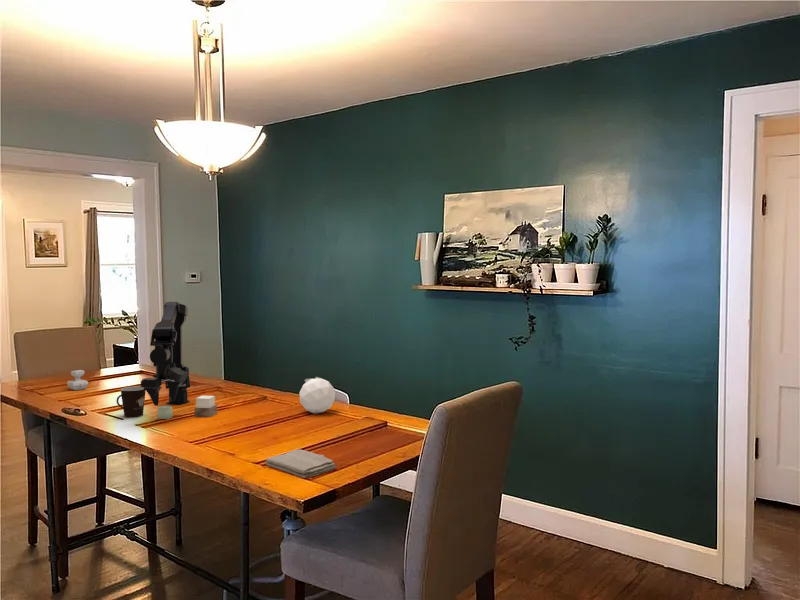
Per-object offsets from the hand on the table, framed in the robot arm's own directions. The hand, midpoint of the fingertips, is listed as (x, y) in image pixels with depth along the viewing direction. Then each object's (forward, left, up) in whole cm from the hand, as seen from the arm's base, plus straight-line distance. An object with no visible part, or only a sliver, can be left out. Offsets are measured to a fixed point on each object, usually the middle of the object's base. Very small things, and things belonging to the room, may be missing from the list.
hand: (164, 402), depth 231 cm
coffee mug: (-14, -2, -6) cm, 15 cm away
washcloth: (+72, -34, -6) cm, 80 cm away
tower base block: (+11, +9, -6) cm, 15 cm away
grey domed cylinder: (0, 0, -6) cm, 6 cm away
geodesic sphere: (+48, +27, -6) cm, 55 cm away
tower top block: (+11, +9, -2) cm, 14 cm away
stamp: (-71, +31, -6) cm, 78 cm away
